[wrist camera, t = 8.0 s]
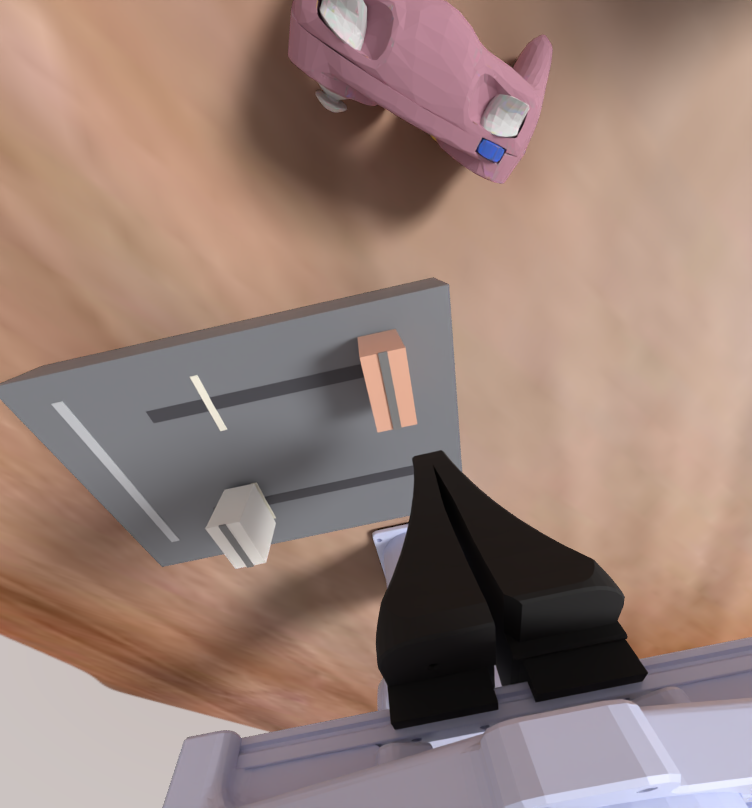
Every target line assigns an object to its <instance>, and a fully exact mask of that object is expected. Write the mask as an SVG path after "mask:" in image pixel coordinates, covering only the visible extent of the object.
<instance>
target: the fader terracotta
mask: <svg viewBox="0 0 752 808" xmlns="http://www.w3.org/2000/svg"><path fill="white" fill-rule="evenodd" d="M357 338H358V348H359V357H360V362H361V366H362V370H363V374H364V378H365V382H366V387H367V391H368V395H369V399H370V403H371V407H372V411H373V416H374V420H375V424H376V428H377V432H383V431H388V430H392V429H394V430H398V429H402V427H406V426H411V425H416V424H417V418H416V412H415V406H414V399H413V393H412V386H411V380H410V373H409V367H408V360H407V354H406V348H405V346H404V344H403V342H402V340H401V338H400V336H399V334H398V333H397V331H396V329H392V330H388V331H383V332H379V333H374V334H370V335H365V336H361V337H357Z"/></svg>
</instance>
